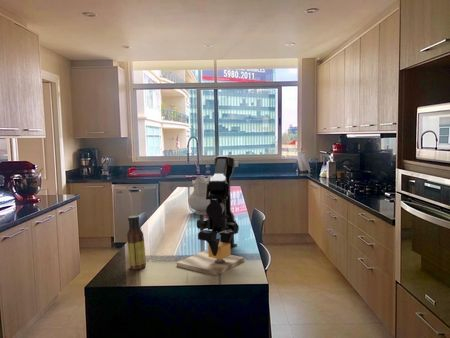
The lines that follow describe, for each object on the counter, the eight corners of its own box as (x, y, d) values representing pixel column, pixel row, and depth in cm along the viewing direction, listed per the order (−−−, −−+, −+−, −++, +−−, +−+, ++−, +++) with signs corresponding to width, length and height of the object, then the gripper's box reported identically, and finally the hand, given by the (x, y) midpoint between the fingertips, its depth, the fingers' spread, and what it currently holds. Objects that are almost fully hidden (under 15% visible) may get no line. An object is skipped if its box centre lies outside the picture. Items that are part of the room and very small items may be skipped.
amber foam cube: (218, 252, 144) (217, 241, 143) (230, 255, 140) (230, 243, 140) (208, 256, 139) (208, 245, 138) (221, 259, 135) (221, 247, 135)
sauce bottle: (147, 264, 143) (145, 214, 142) (144, 270, 137) (142, 217, 135) (130, 265, 143) (128, 214, 141) (126, 270, 137) (124, 218, 135)
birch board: (205, 253, 155) (205, 241, 155) (243, 261, 144) (243, 248, 144) (176, 266, 140) (176, 253, 140) (216, 275, 129) (215, 262, 129)
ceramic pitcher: (216, 218, 228) (218, 178, 226) (185, 216, 228) (186, 176, 226) (217, 211, 250) (219, 175, 248) (189, 210, 250) (190, 173, 248)
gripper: (216, 206, 150) (217, 244, 151) (185, 215, 135) (187, 256, 136) (238, 209, 144) (239, 248, 145) (209, 218, 129) (211, 261, 130)
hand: (219, 253), depth 139 cm, fingers closed on amber foam cube, 6 cm apart
